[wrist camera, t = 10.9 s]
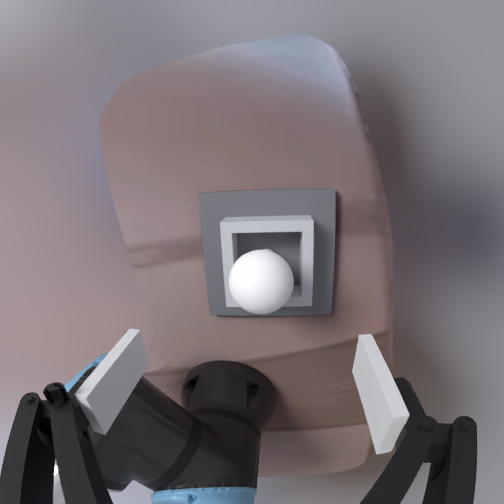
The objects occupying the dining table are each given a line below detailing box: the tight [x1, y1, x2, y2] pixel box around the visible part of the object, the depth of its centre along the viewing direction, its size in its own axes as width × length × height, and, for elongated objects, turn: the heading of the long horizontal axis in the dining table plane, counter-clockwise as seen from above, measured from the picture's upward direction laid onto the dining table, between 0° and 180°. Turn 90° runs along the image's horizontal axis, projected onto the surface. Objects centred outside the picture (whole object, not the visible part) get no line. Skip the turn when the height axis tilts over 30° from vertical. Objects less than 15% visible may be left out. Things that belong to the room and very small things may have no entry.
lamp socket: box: [199, 189, 336, 316], centre depth 33 cm, size 16×16×5 cm
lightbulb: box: [229, 249, 294, 314], centre depth 29 cm, size 6×6×11 cm
